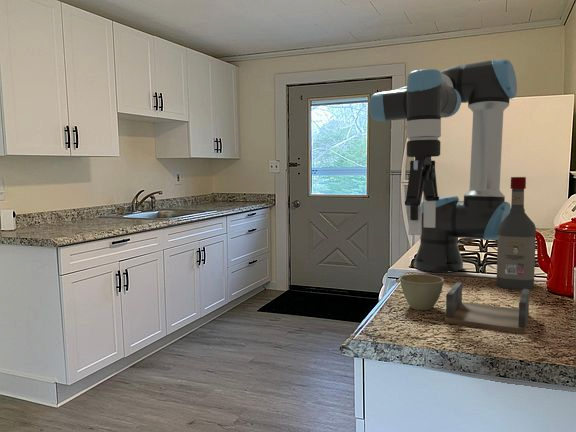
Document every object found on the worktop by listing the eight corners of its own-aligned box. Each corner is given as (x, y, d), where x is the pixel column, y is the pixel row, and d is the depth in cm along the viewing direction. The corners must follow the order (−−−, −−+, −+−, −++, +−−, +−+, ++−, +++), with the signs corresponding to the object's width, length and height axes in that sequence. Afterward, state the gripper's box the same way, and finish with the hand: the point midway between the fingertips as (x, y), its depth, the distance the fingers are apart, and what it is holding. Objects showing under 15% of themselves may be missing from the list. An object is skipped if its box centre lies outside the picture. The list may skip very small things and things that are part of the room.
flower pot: (445, 314, 108) (446, 283, 108) (400, 313, 110) (400, 282, 110) (440, 302, 118) (441, 274, 117) (399, 300, 120) (399, 273, 119)
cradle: (457, 305, 115) (457, 281, 114) (528, 314, 107) (529, 288, 107) (445, 322, 103) (445, 295, 102) (524, 333, 95) (525, 304, 95)
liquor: (533, 291, 126) (537, 177, 123) (495, 288, 130) (498, 177, 127) (534, 283, 134) (537, 176, 131) (498, 280, 138) (501, 176, 135)
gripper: (420, 142, 123) (419, 224, 125) (391, 138, 101) (390, 237, 103) (450, 140, 119) (449, 225, 121) (427, 136, 97) (426, 239, 99)
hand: (422, 231), depth 112 cm, fingers open, 13 cm apart
